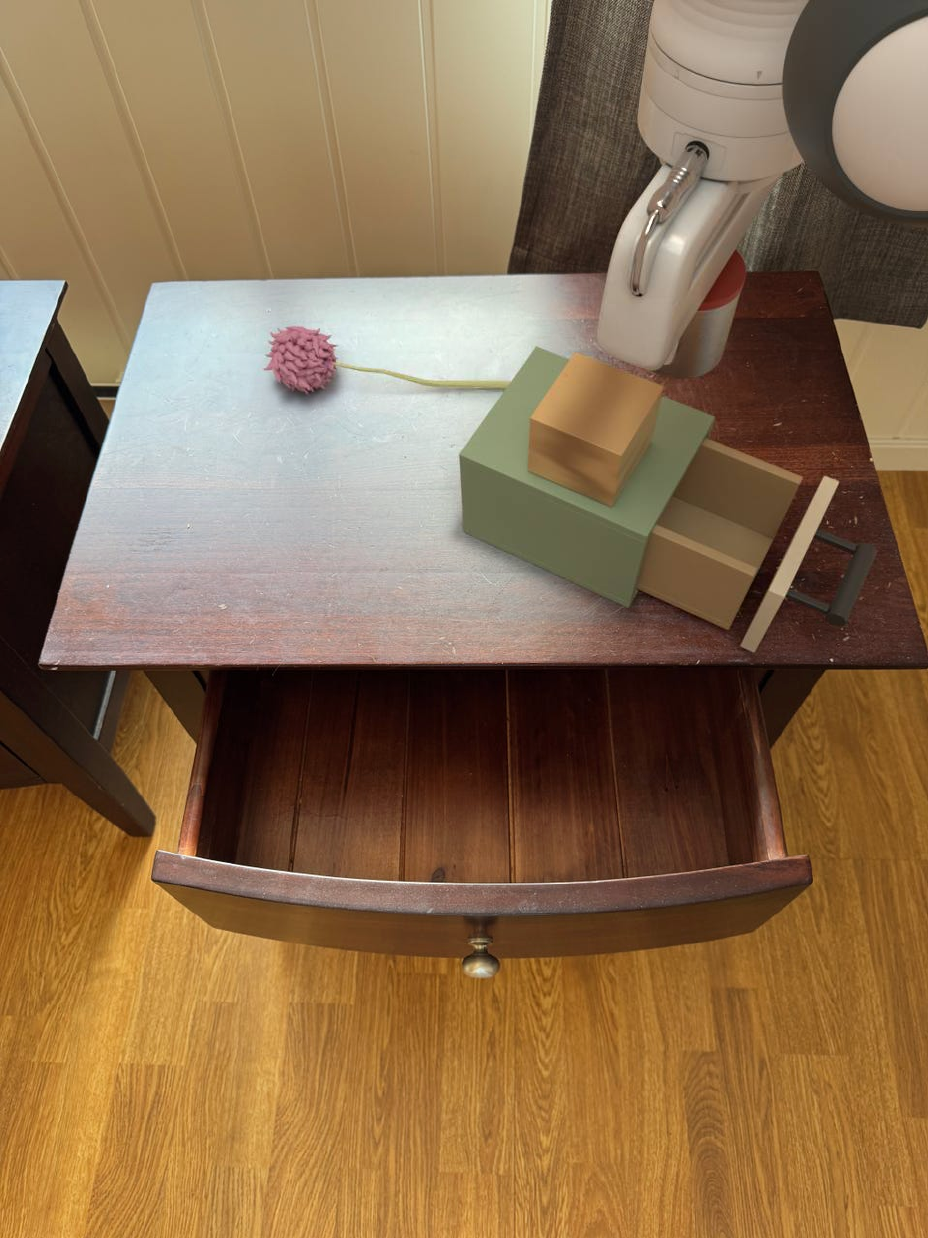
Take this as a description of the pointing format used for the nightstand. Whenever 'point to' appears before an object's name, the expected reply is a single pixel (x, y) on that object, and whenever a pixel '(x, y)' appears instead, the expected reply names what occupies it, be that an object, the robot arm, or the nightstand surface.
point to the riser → (593, 428)
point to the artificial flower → (329, 362)
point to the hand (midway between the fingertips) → (685, 315)
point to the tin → (709, 325)
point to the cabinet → (557, 516)
